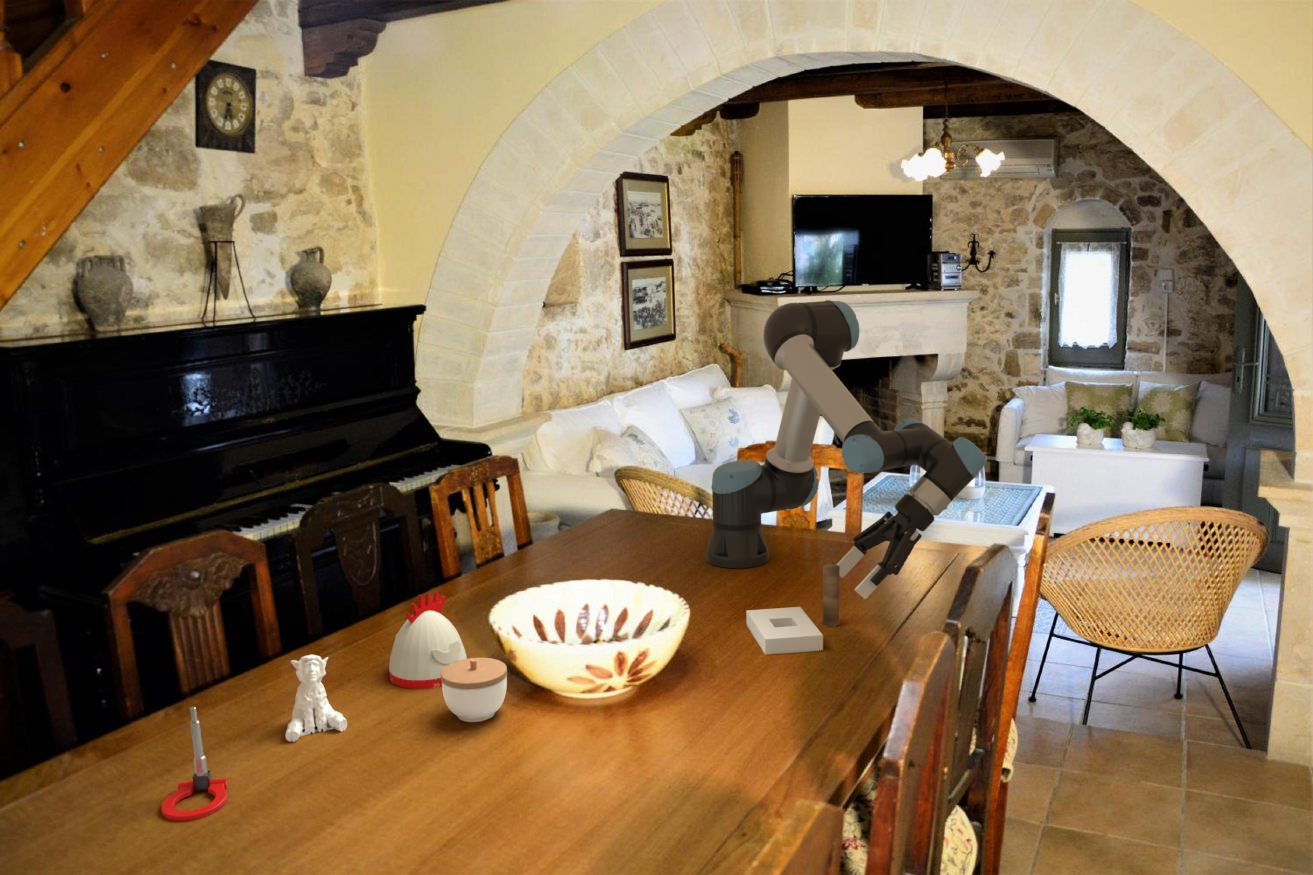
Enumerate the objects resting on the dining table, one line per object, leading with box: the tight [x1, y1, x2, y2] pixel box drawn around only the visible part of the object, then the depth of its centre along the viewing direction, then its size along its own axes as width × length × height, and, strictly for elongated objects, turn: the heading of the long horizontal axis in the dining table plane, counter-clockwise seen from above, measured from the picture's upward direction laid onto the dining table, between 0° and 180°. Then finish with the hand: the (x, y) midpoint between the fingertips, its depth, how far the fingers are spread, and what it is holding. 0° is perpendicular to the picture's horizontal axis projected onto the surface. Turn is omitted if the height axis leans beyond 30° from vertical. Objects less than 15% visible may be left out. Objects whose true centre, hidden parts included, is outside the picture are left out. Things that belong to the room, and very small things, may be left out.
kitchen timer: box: [388, 590, 468, 690], centre depth 191 cm, size 14×14×15 cm
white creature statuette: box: [284, 654, 348, 743], centre depth 170 cm, size 10×9×12 cm
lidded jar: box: [441, 657, 508, 723], centre depth 174 cm, size 11×11×9 cm
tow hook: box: [161, 706, 229, 822], centre depth 147 cm, size 8×13×9 cm
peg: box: [822, 563, 840, 627], centre depth 211 cm, size 3×3×12 cm
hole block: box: [745, 606, 824, 655], centre depth 205 cm, size 16×11×3 cm
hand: (847, 583), depth 210 cm, fingers open, 13 cm apart
